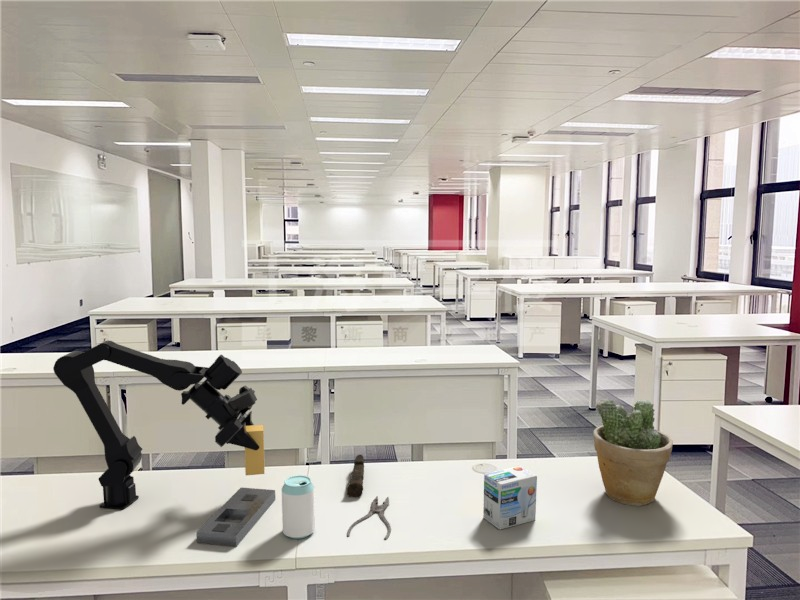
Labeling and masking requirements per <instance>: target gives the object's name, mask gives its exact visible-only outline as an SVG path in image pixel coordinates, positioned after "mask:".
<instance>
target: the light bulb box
mask: <svg viewBox="0 0 800 600" xmlns="http://www.w3.org/2000/svg"><path fill="white" fill-rule="evenodd" d="M483 475H484V477H483V515H482V517H483V518H484V519H485V520H486V521H487V522H489V523H490V524H491V525H493V526H494V527H496V528H497V529H498V530H505V529H507V528H511V527H514V526H515V527H516V526H519V525H522V524H525V523H529V522H532V521H533V522H534V521H536V513H537V512H536V511H537V508H536V507H537V487H538V486H537V484H538V476H537V475H536V474H534V473H533V472H531V471H530V470H527V469H526V468H523V467H522V466H520V465H517V466H516V465H515V466H514V467H508V468H504V469H501V470H500V469H499V470H496V471H491V472H487V473H484V474H483Z"/></svg>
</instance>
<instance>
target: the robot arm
mask: <svg viewBox="0 0 800 600" xmlns="http://www.w3.org/2000/svg"><path fill="white" fill-rule="evenodd" d="M102 361H107V362H109V363H112V364H115V365H116V364H117V365H119V366H122V367H125V368H127V369H131V370H133V371H136V372H140V373H143V374H146V375H149V376H152V377H153V378H155V379H157V380H158V381H159V382H160V383H161V384H163V385H165V386H167V387H168V388H171V389H173V390H175V391H179V392H180V391H182V392H181V394H180V395H181V405H186V403H187V402H189V400H190V401H192V402H193V403H194V404H195V406H198V408H199V409H200V410H202V411H203V412H204V413H205V414H206V415H205V416H204V417H205V418H206V419H207V420H209V419H212V420H213V421H214V422H215V423H216V424H217V425H219V426H218V427H217V428H218V430H219V431H218V432H217V433H216V435H215V437H214V439H215V440H214V442H215V443H216V444H217V445H218V446H219V447H220V448H222V447H223V446H224V445H226V444H227V445H228V444H231V445H234V446H239V447H242V448H245V447H246V448H249V449H253V450H258V449H259V445H258V444H257V443H256V442H255V440H254V439H253V438H252V437H251V436H250V435H249V433H248V432H247V431H246V426H251V425H255V424H254V423H253V421H252V414H253V412H252V410H251V409H252V408H253V406H254V405H255V404H256V401H258V398H257V396H256V394H255V392H256V391H255V390H254V389H252V387H248V386H247V385H243V386H241V387H240V388H239V389H238V391H239V392H238V393H237V394H236V395H235V396H233V397H231V396H230V395H229V394H224V395H223V394H222V393H221V392H220V390H224V391H225V390H226V389H228V388H229V387H230V386H231V384H233V383H234V381H236V380H237V379H238V378H239V377H240V376H241V375H242V373H243V371H242V369H241V367H240V366H239V365H238V364H237V363H236V362H235V361H234V360H232V359H230V358H228V357H225V356H224V355H223V354H219V355H218V357H217V358H216V359H215V360H214V362H213V363H212V364H211V365H210V366H209V367H206V366H197V365H195V364H194V363H192V362H189V361H186V360H185V361H184V360H178V359H165V358H159V357H157V356H154V355H151V354H149V353H145V352H142V351H139V350H136V349H133V348H130V347H128V346H125V345H122V344H118V343H116V342H114V341H113V340H104V341H103V342H101V343H98V344H97V345H96V346H93V347H91V348H88V349H86V350H84V351H82V350H74V351H70V352H68V353H66V354H64V355H62V356H60V357H59V358H57V359H56V361H55V362H54V365H53V372H54V375H55V376H56V377H57V378H58V380H59V381H60V382H61V383H62V384H63V386H65V387H66V388H67V389H69V390H71V391H72V392H73V393H74V395H76V398H77V399H78V401H79V402H80V404H81V406H82V408H83V410H84V412H85V413H86V415H87V417H88V418H89V420H90V423H91V425H92V426H93V428H94V430H95V431H96V433H97V434H98V437H99V439H100V441H101V442H102V444H103V447H104V448H103V449H104V450H103V451H104V461H105V463H106V466H107V469H106V470H105V471H104V472H103V473H102V474H101V475H100V476H99V477H98V481H99V484H100V487H102V494H103V495H102V496H103V502H102V503H101V504H99V508H101V509H102V508H103V509H113V510H114V509H115V510H124V509H126V508H127V507H128V506H130V505H131V504H132V503H134V502H136V501H137V500H138V499H139V496H140V495H137V493H136V492H137V491H136V483H135V480H134V476H132V475H131V474H132V473H133V472H134V471H135V470H136V468H137V466H138V465H140V463H141V461H142V458H143V454H142V453H143V452H142V451H143V448H142V447H141V446H140V444H139V443H138V439H137V437H136V436H134V435H133V436H132V437H128V436H127V435H126V434H124V433H123V432H122V430H121V428H120V426H119V424H118V422H117V420H116V418H115V417H114V416H113V413H112V411H111V410H110V408H109V405H108V404H107V402H106V399H104V397H103V395H102V394H101V392H100V391H101V390H99V388H98V386H97V384H96V380H95V379H96V378H95V370H94V367H93V365H96V364H97V363H100V362H102ZM204 378H205V380H204V381H203V382H202V383H200V382H201V381H202V380H203V379H204ZM190 386H191V388H189V387H190ZM188 388H189V389H188ZM187 389H188V390H187ZM248 411H249V412H248ZM247 412H248V413H247Z"/></svg>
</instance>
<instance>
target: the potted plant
mask: <svg viewBox="0 0 800 600" xmlns="http://www.w3.org/2000/svg"><path fill="white" fill-rule="evenodd" d="M654 405H655V404H654V403H652V402H651V401H650V400H647V399H639V400H637V401H636V402H635V403H634V407H633V410H632V412H631V413H630V414H629V415H628V411H627V409H625V407H624V406H623V405H622V404H615V403H614V400H610V398H603V399H601V400H599V401H597V403H596V406H595V408H596V409H597V411H598V414H599V415H600V417H601V423H602V425H600V426H597V427H596V428H595V429H594V430H593V433H592V434H593V435H592V436H593V443H594V450H595V452H596V457H597V462H598V463H597V464H598V468H599V472H600V475H601V476H600V477H601V481H602V484H603V486H604V491H605V493H606V495H607V496H608V498H610V499H611V500H613V501H615V502H617V503H620V504H624V505H628V506H633V507H635V506H637V507H642V506H646V505H649V504H651V503H653V502H654V500H655V498H656V496H657V492H658V490H659V487H660V485H661V482H662V479H663V477H664V474H665V471H666V467H667V463H669V461H670V459H671V456H672V455H671V454H672V451H673V445H674V440H673V439H672V438H671V437H670V435H668V434H666V433H664V432H661V431H659V430H658V429H655V426H654V422H655V417H654V415H655V413H654V412H655V409H654V408H653V407H654Z"/></svg>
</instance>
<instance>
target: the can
mask: <svg viewBox="0 0 800 600" xmlns="http://www.w3.org/2000/svg"><path fill="white" fill-rule="evenodd" d="M281 487H282V488H281V515H282V517H281V518H282V519H281V520H282V521H281V522H282V533H283V534H284V536H286V537H288V538H290V539H293V540H294V539H297V540H298V539H299V540H300V539H304V538H306V537H307V538H308V537H309V536H310V535H312V534H313V532H315V531H316V515H315V513H316V512H315V511H316V509H315V507H316V506H315V502H316V501H315V485H314V484H313V482H312V479H311V478H310V476H307V475H302V474H301V475H300V474H299V475H292V476H288V478H286V479H285V480H284V484H283V485H282V486H281Z"/></svg>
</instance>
